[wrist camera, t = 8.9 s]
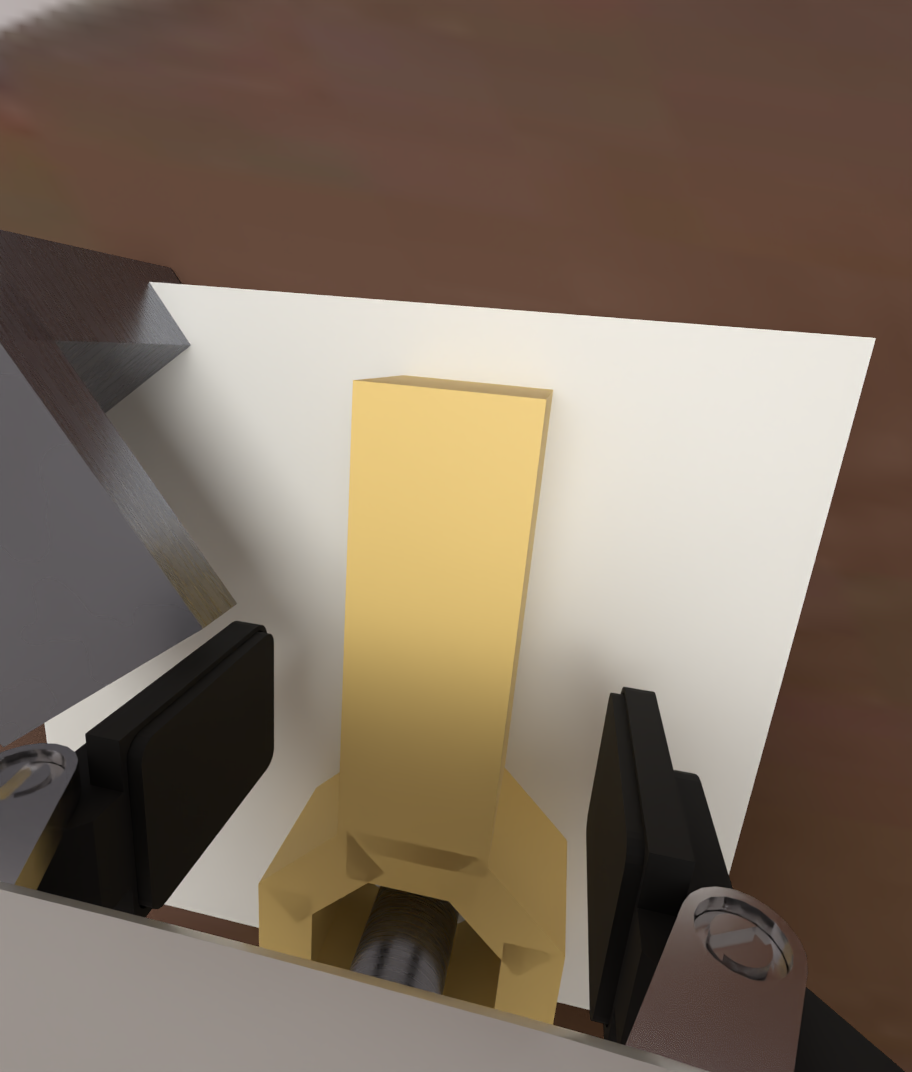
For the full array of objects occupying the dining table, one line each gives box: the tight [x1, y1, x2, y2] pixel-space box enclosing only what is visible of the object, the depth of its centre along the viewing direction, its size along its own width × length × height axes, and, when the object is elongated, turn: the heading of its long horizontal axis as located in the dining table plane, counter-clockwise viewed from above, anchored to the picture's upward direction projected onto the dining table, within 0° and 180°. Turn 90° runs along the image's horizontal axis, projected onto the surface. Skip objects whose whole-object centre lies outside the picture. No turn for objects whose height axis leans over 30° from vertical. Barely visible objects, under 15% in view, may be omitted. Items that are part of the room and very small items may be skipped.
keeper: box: [0, 230, 237, 747], centre depth 12 cm, size 7×5×6 cm
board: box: [45, 282, 876, 1010], centre depth 15 cm, size 18×17×1 cm
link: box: [258, 375, 567, 1025], centre depth 13 cm, size 15×6×3 cm, turn 175°
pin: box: [349, 886, 459, 995], centre depth 14 cm, size 2×2×6 cm
